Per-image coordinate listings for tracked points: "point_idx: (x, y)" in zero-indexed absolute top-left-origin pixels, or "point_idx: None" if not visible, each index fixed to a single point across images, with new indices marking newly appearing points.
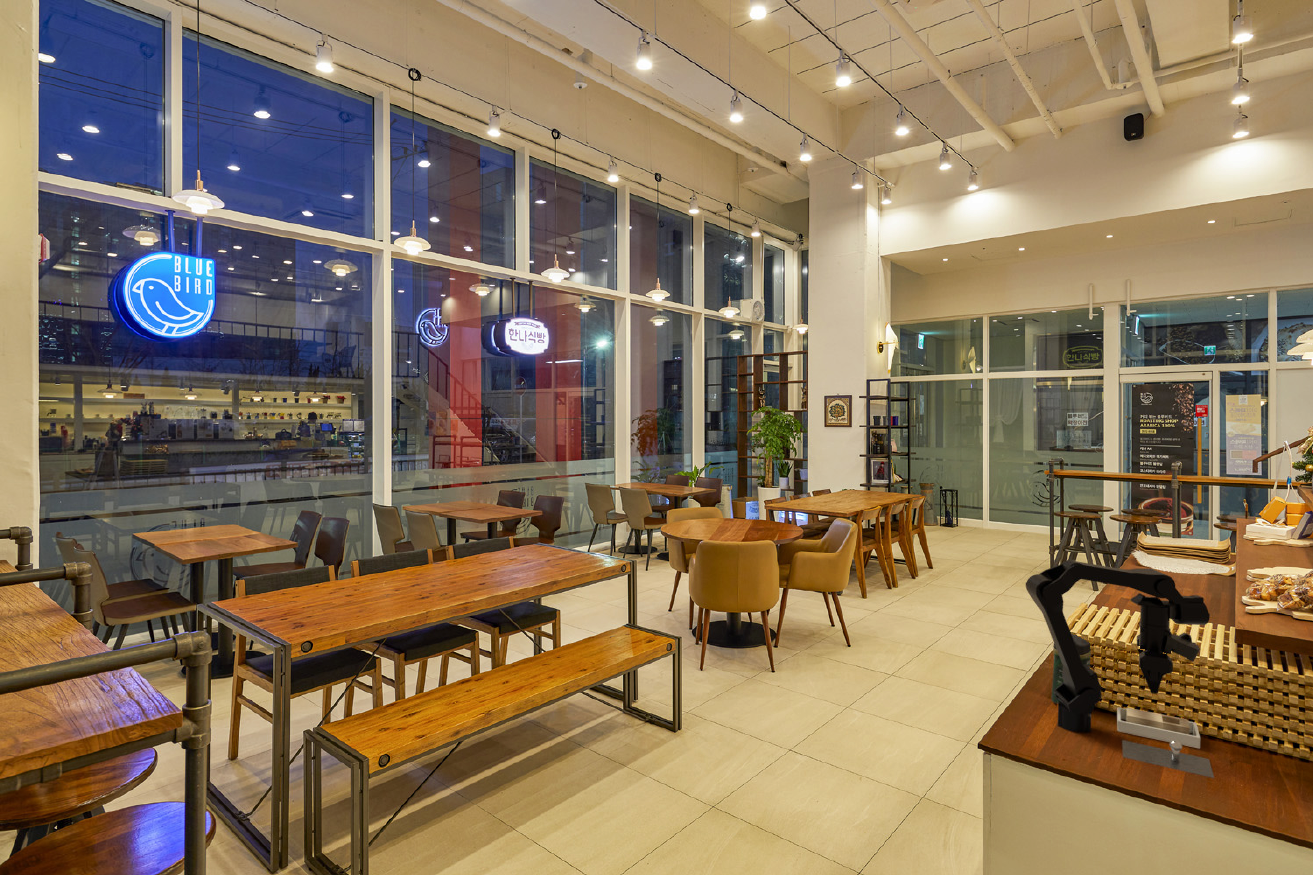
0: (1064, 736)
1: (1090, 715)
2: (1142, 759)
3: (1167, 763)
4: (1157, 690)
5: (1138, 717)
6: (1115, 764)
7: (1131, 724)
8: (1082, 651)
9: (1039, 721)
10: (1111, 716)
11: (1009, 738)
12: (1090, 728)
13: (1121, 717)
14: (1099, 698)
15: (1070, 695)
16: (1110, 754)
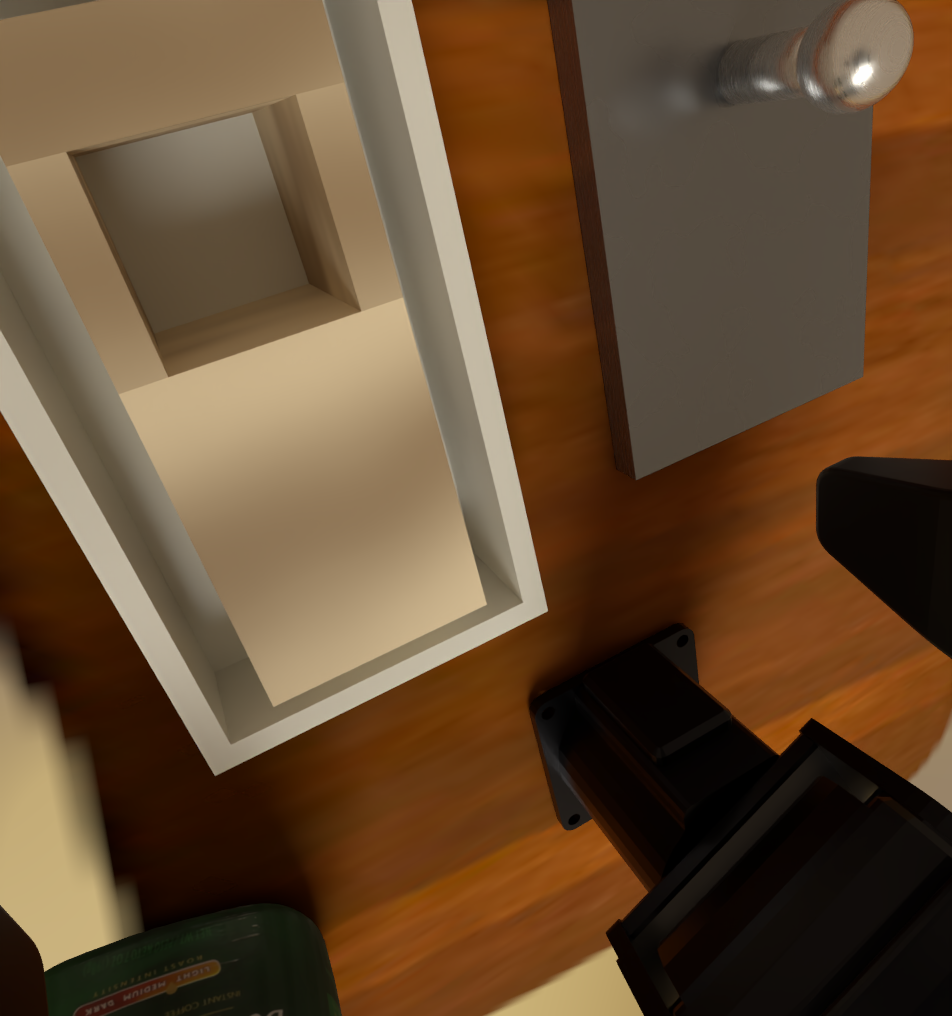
0: (715, 696)
1: (698, 732)
2: (839, 275)
3: (820, 115)
4: (941, 466)
5: (460, 521)
6: (888, 382)
7: (526, 517)
8: None
9: (617, 857)
10: (139, 751)
11: None
12: (668, 662)
13: (212, 677)
14: (855, 801)
15: (661, 962)
16: (791, 451)
